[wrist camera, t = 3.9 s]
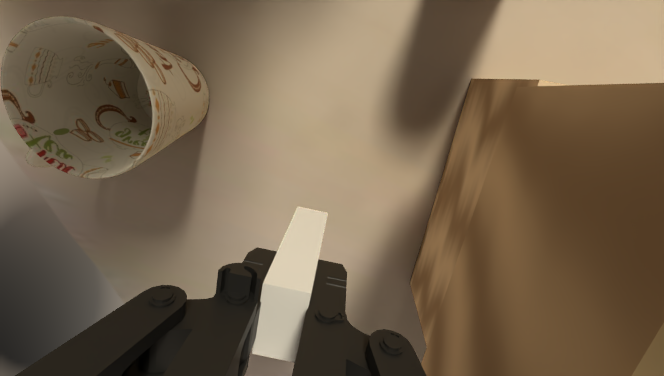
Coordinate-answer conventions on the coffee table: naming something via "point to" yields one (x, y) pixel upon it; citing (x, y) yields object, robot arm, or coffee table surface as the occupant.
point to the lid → (563, 242)
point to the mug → (96, 96)
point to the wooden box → (461, 190)
